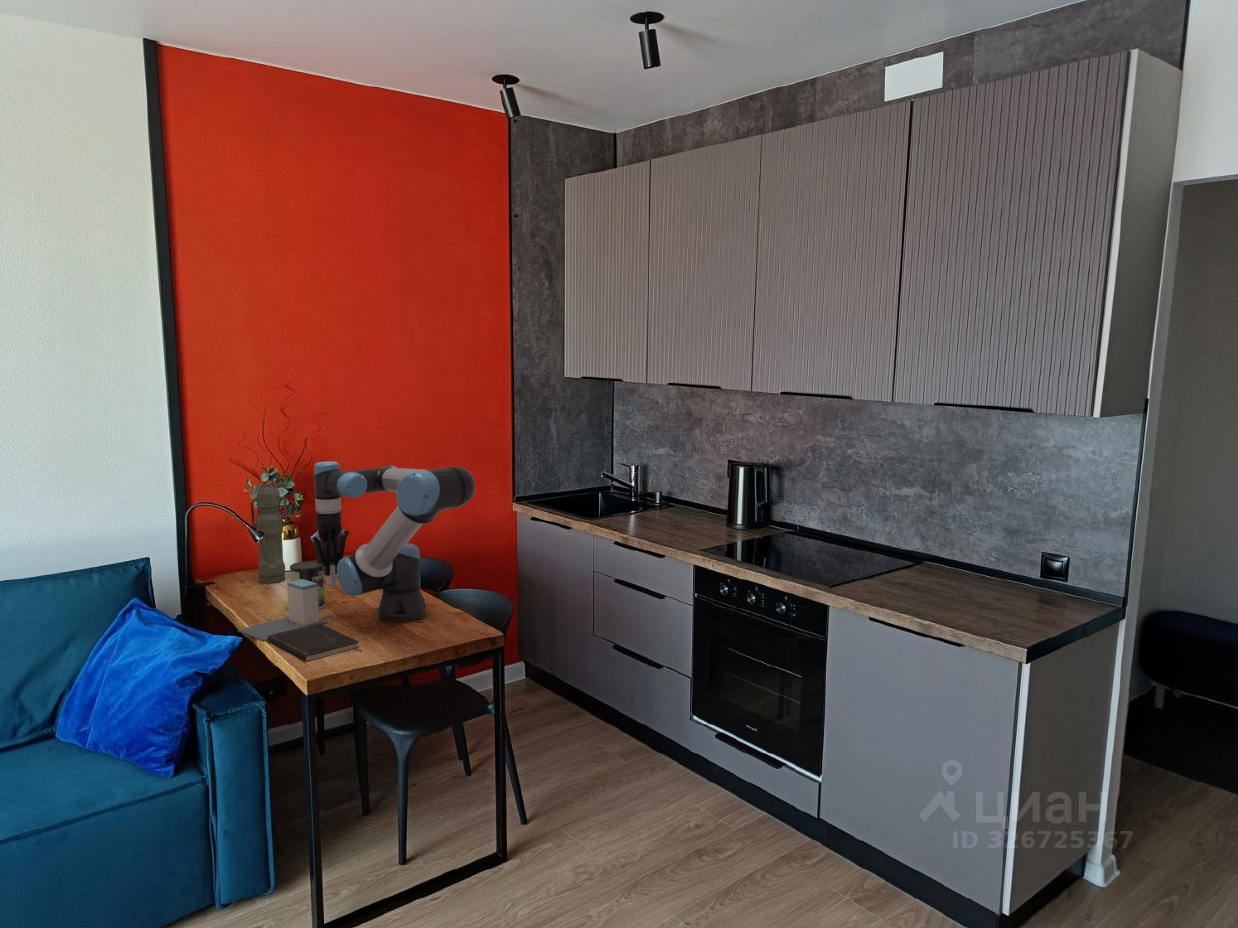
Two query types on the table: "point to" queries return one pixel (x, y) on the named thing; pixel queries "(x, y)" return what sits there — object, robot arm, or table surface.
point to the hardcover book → (312, 642)
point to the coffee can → (310, 576)
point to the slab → (303, 602)
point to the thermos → (270, 533)
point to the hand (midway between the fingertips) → (331, 584)
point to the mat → (273, 628)
